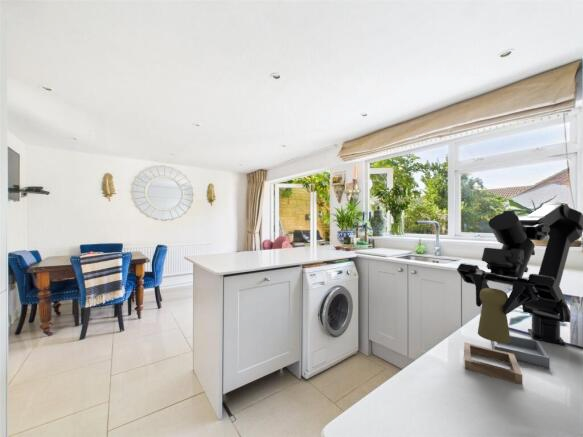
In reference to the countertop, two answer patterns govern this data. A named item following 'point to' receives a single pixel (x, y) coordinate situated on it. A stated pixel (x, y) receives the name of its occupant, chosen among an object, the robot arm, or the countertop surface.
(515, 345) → the grey square tray
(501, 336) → the olive flared post
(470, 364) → the walnut collar
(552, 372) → the countertop surface
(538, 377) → the countertop surface
